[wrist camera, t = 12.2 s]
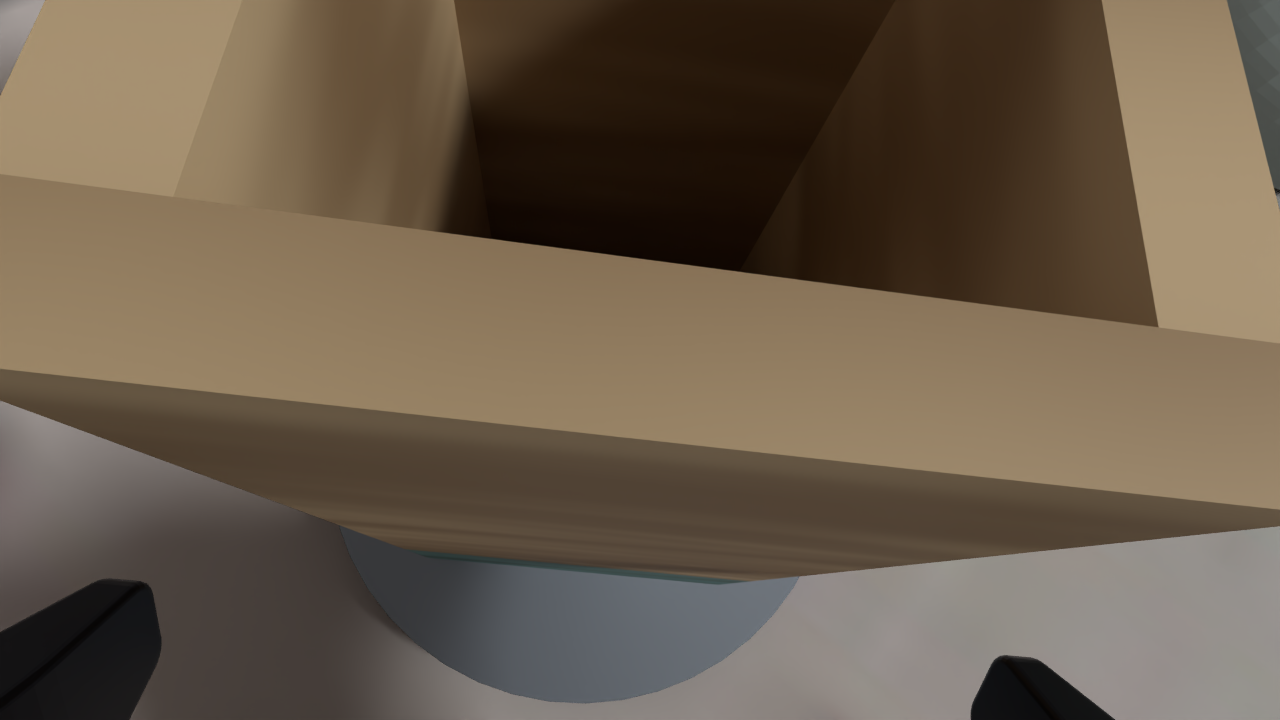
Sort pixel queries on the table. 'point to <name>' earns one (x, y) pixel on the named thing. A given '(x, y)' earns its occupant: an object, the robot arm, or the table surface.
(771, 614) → the pin stand
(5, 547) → the table surface
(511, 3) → the banded sleeve
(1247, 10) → the air freshener
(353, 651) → the table surface
